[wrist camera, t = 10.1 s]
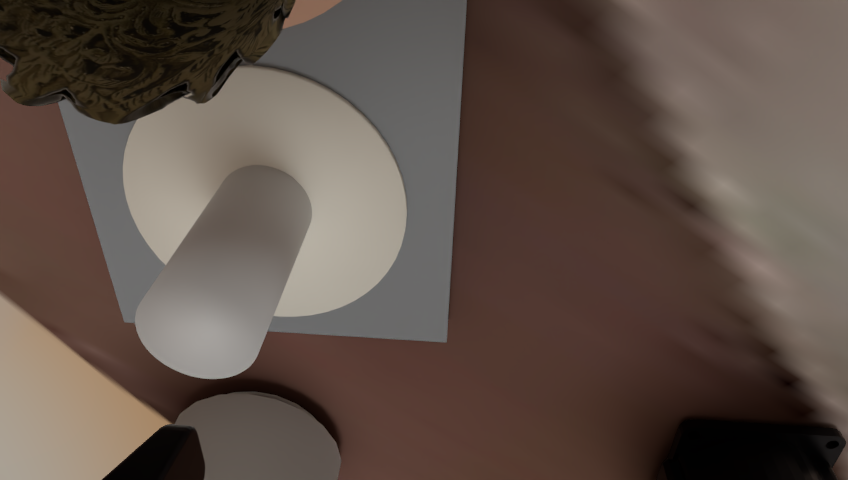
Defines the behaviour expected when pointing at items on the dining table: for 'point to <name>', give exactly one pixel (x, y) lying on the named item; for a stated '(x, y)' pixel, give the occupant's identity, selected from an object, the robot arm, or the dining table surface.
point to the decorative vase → (131, 50)
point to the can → (261, 439)
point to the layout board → (404, 106)
